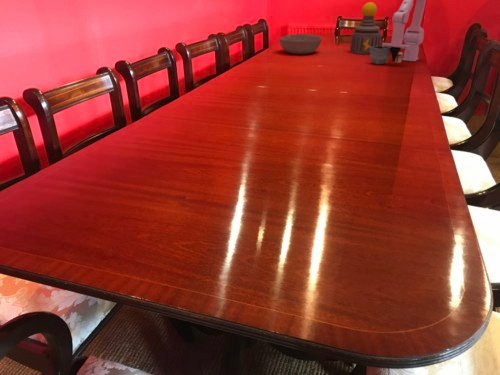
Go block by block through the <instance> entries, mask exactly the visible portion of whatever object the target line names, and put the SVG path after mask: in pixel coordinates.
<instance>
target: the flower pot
mask: <svg viewBox="0 0 500 375" xmlns="http://www.w3.org/2000/svg"><path fill="white" fill-rule="evenodd" d="M390 49H391V48H390V47H382V45H380V46H374V47H370V55H369V57H370V60H371V63H372V64H375V65H385V64H386V63H387V62H388V60H389V58H390V55H391V51H390Z"/></svg>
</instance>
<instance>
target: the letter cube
mask: <svg viewBox="0 0 500 375" xmlns="http://www.w3.org/2000/svg"><path fill="white" fill-rule="evenodd" d="M403 56H404V53H403V52H401V51H400V52H399V53H398V55H397V57H396V60H395V62H394V63H402V61H403V60H402V59H403Z"/></svg>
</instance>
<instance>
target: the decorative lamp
mask: <svg viewBox="0 0 500 375" xmlns="http://www.w3.org/2000/svg"><path fill="white" fill-rule="evenodd" d="M377 12H378V8H377V5H376V3H375V2H371V1H369V2H366V3H365V4H364V5H363V6H362V8H361V13H362V20H361V22H360V25H356V26H355V27H354V30H353V32H352V34H351V37H350V41H349V42H350V45H349V49H350V53H352V54H355V55H363V56H364V55H365V56H366V55H367V56H368V55H369V56H370V47H374V46H381V44H382V35H381V33H382V32H381V31H380V29H381V28H380V26H378V25H375V15H376V14H377Z"/></svg>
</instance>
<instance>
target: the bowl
mask: <svg viewBox="0 0 500 375" xmlns="http://www.w3.org/2000/svg"><path fill="white" fill-rule="evenodd" d="M322 40H323V37H321V36H319V35H316V34H315V35H314V34H307V33H305V34H304V33H300V34H299V33H298V34H287V35H285V36H281V37H280V38H279V39H278V42H279V43H280V46H281V48H282V49H283V51H285V52H286V53H289V54H291V55H292V54H293V55H308V54H312V53H314V52H316V51H317V50H318V48H319V47H320V45H321V43H322Z"/></svg>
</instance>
